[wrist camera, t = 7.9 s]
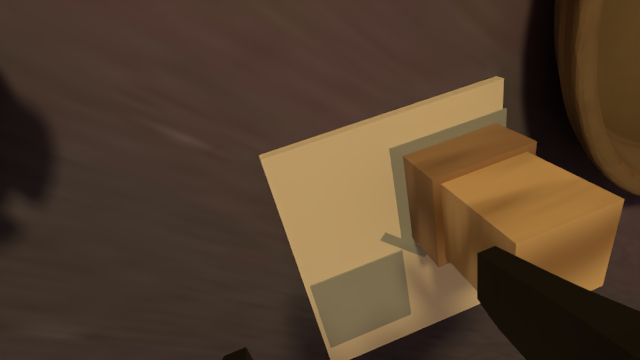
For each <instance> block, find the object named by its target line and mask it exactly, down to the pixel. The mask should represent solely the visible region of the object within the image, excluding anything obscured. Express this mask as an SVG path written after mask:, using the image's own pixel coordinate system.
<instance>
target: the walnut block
mask: <svg viewBox="0 0 640 360" xmlns="http://www.w3.org/2000/svg"><path fill="white" fill-rule="evenodd" d="M536 146H537V141H535V140H533V139H531V138H528V137H526V136H524V135H521V134H519V133H517V132H515V131H512V130H510V129H508V128H506V127H503V126H501V125H499V124H497V123H495V124H492V125H490V126H487V127H484V128H481V129H478V130H475V131H473V132H470V133H467V134H464V135H461V136H458V137H456V138H453V139H450V140H447V141H444V142H441V143H439V144H436V145H433V146H430V147H427V148H424V149H422V150H419V151H416V152H413V153H410V154H408V155H405V156H403V162H404V170H405V179H406V187H407V196H408V204H409V213H410V221H411V230H412V237H413V238H414V240H415V241H416V242H417V243H418V244H419V245H420V247H421V248H422V249H423V250H424V251H425V252H426V253H427V255H428V256H429V257H430V258H431V259H432V260H433V262H434V263H435V264H436V265H437V266H438V267H441V266H443V265H446V264H448V263H450V261H449V260H448V259H447V258H446V257H445V240H444V224H443V208H442V192H441V184H442V183H445V182H448V181H450V180H453V179H456V178H458V177H461V176H464V175H466V174H469V173H472V172H474V171H477V170H480V169H482V168H485V167H488V166H490V165H493V164H496V163H498V162H501V161H504V160H507V159H509V158H512V157H515V156H517V155H520V154H523V153H525V152H529V153H531V154H533V155H535V156H536Z"/></svg>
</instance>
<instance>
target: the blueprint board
mask: <svg viewBox="0 0 640 360" xmlns="http://www.w3.org/2000/svg"><path fill="white" fill-rule="evenodd" d="M503 87H504V78H501V77H497V76H495V77H492V78H489V79H486V80H483V81H480V82H477V83H474V84H471V85H468V86H465V87H462V88H459V89H456V90H453V91H450V92H447V93H444V94H441V95H438V96H435V97H432V98H429V99H426V100H423V101H420V102H417V103H414V104H411V105H408V106H405V107H402V108H399V109H396V110H393V111H390V112H387V113H384V114H381V115H378V116H375V117H372V118H369V119H366V120H363V121H360V122H357V123H354V124H351V125H348V126H345V127H342V128H339V129H336V130H333V131H330V132H327V133H324V134H321V135H318V136H315V137H312V138H309V139H306V140H303V141H300V142H297V143H294V144H291V145H288V146H285V147H282V148H279V149H276V150H273V151H270V152H267V153H264V154H261V155H259V157H260V160H261V163H262V166H263V169H264V171H265V174H266V177H267V180H268V183H269V186H270V189H271V191H272V194H273V197H274V200H275V203H276V206H277V209H278V211H279V214H280V217H281V220H282V223H283V226H284V229H285V231H286V234H287V237H288V240H289V243H290V246H291V249H292V251H293V254H294V257H295V260H296V263H297V266H298V269H299V271H300V274H301V277H302V280H303V283H304V286H305V289H306V291H307V294H308V297H309V300H310V303H311V306H312V309H313V311H314V314H315V317H316V320H317V323H318V326H319V328H320V331H321V334H322V337H323V340H324V343H325V346H326V348H327V351H328V354H329V357H330V360H350V359H353V358H355V357H357V356H360V355H362V354H364V353H367V352H369V351H371V350H374V349H376V348H378V347H380V346H383V345H385V344H387V343H390V342H392V341H394V340H397V339H399V338H401V337H404V336H406V335H408V334H411V333H413V332H415V331H418V330H420V329H422V328H425V327H427V326H429V325H432V324H434V323H436V322H439V321H441V320H443V319H446V318H448V317H450V316H453V315H455V314H457V313H460V312H462V311H464V310H467V309H469V308H471V307H474V306H476V305H478V304H481V303H480V302H479V301H478V299H477V291H476V290H475V289H474V287H473V286H472V285H471V284H470V283H469V282H468V281H467V280H466V279H465V278H464V277H463V276H462V274H461V273H460V272H459V271H458V270H457V269H456V268H455V267H454V266H453V265H452V264H451V263H448V264H446V265H443V266H441V267H438V266H437V265H436V264H435V263H434V262H433V260H432V259H431V258H430V257H429V256H428V255H427V253H426V252H425V251H424V250H423V249H422V248H421V247H420V245H419V244H418V243H417V242H416V241H415V240H414V238H413V237H412V230H411V221H410V213H409V204H408V196H407V187H406V179H405V170H404V162H403V156H405V155H408V154H410V153H413V152H416V151H419V150H422V149H424V148H427V147H430V146H433V145H436V144H439V143H441V142H444V141H447V140H450V139H453V138H456V137H458V136H461V135H464V134H467V133H470V132H473V131H475V130H478V129H481V128H484V127H487V126H490V125H492V124H495V123H497V124H499V125H501V126H503V127H506V116H507V108H504V109H503Z"/></svg>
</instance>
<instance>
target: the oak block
mask: <svg viewBox="0 0 640 360" xmlns="http://www.w3.org/2000/svg"><path fill="white" fill-rule="evenodd" d="M441 192H442V208H443V224H444V240H445V257H446V258H447V259H448V260H449V261H450V263H451V264H452V265H453V266H454V267H455V268H456V269H457V270H458V271H459V272H460V273H461V274H462V276H463V277H464V278H465V279H466V280H467V281H468V282H469V283H470V284H471V285H472V286H473V287H474V289H475V290H476V291H477V253H479V252H481V251H483V250H486V249H488V248H491V247H493V246H497V247H499V248H501V249H503V250H505V251H507V252H509V253H511V254H513V255H515V256H517V257H519V258H521V259H523V260H526V261H528V262H530V263H532V264H534V265H536V266H538V267H540V268H542V269H544V270H546V271H548V272H550V273H552V274H555V275H557V276H559V277H561V278H563V279H565V280H567V281H570V282H572V283H574V284H576V285H578V286H580V287H583V288H585V289H587V290H589V291H592V290H594V289H596V288H598V287H600V286H602V285H603V282H604V278H605V274H606V270H607V266H608V262H609V258H610V254H611V250H612V246H613V243H614V239H615V235H616V231H617V227H618V223H619V219H620V215H621V211H622V208H623V204H624V200H625V199H623V198H621V197H619V196H617V195H615V194H613V193H611V192H609V191H607V190H605V189H603V188H601V187H599V186H597V185H595V184H593V183H591V182H588V181H586V180H584V179H582V178H580V177H578V176H576V175H574V174H572V173H570V172H568V171H566V170H564V169H562V168H560V167H558V166H556V165H554V164H552V163H550V162H547V161H545V160H543V159H541V158H539V157H537V156H535V155H533V154H531V153H529V152H525V153H523V154H520V155H517V156H515V157H512V158H509V159H507V160H504V161H501V162H498V163H496V164H493V165H490V166H488V167H485V168H482V169H480V170H477V171H474V172H472V173H469V174H466V175H464V176H461V177H458V178H456V179H453V180H450V181H448V182H445V183H442V184H441Z"/></svg>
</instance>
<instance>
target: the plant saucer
mask: <svg viewBox="0 0 640 360" xmlns="http://www.w3.org/2000/svg"><path fill="white" fill-rule="evenodd" d="M554 42H555V56H556V62H557V68H558V74H559V77H560V84H561V91H562V96H563V100H564V105H565V109H566V112H567V115H568V119H569V122H570V124H571V126H572V128H573V130H574V133H575V135H576V137H577V139H578V140H579V142H580V143H581V145H582V147H583V149H584V151H585V153H586V155H587V156H588V158H589V159H590V160H591V162H592V163H593V164H594V165H595V167H596V168H597V169H598V170H599V171H600V172H601V173H602V174H603V175H604V176H605V177H606V178H607V179H608V180H609V181H611V182H612V183H613V184H615V185H616V186H618V187H620V188H621V189H623V190H625V191H627V192H629V193H631V194H634V195H637V196H640V0H555V11H554Z"/></svg>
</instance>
